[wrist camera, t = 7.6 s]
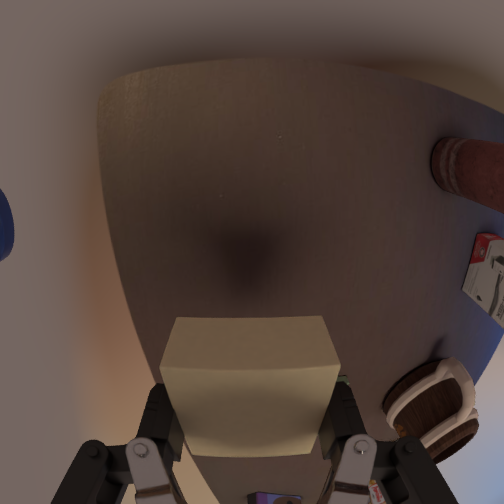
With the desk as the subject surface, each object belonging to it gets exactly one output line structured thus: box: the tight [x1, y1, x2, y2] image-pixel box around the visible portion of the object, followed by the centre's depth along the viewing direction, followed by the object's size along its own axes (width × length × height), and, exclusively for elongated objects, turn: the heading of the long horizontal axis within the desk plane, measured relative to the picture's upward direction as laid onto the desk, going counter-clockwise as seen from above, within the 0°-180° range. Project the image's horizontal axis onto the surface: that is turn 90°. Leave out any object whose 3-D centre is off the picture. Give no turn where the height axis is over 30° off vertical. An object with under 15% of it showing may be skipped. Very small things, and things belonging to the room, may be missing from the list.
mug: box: [383, 357, 479, 465], centre depth 29 cm, size 20×15×15 cm
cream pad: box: [159, 316, 341, 457], centre depth 11 cm, size 6×10×3 cm, turn 0°
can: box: [432, 137, 504, 214], centre depth 16 cm, size 6×6×14 cm
